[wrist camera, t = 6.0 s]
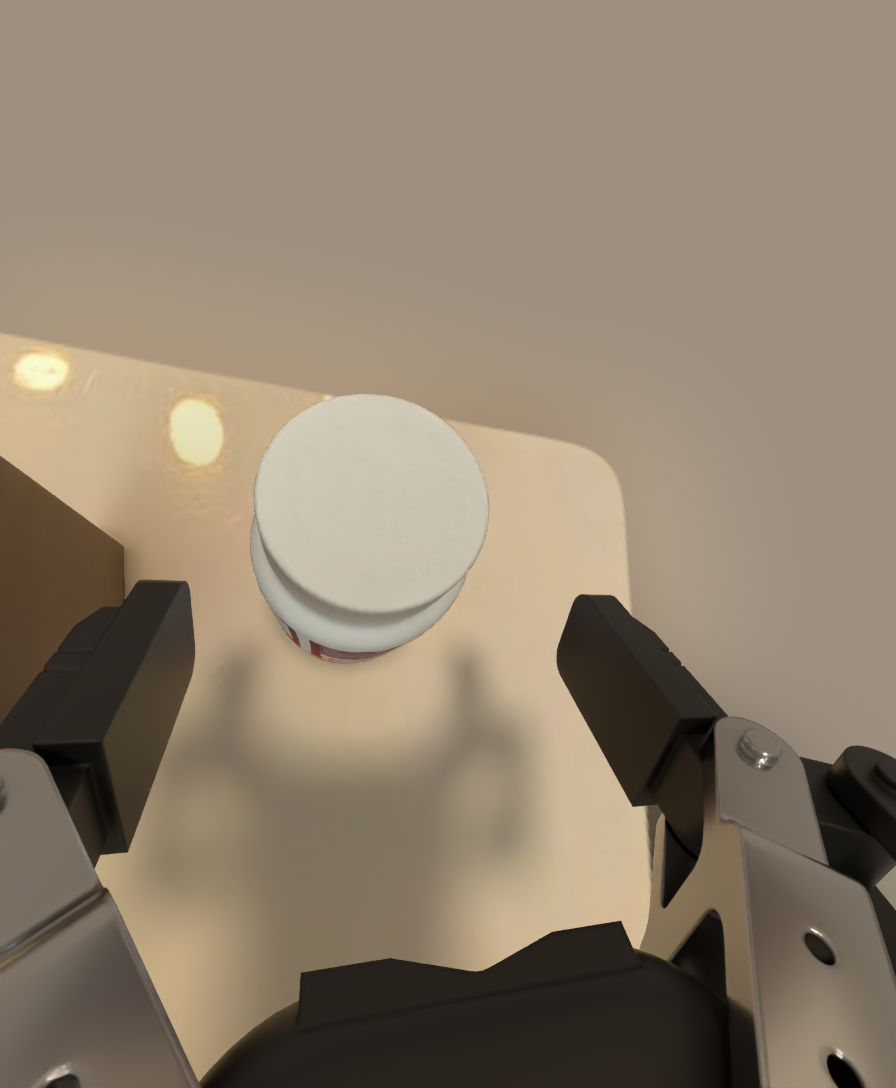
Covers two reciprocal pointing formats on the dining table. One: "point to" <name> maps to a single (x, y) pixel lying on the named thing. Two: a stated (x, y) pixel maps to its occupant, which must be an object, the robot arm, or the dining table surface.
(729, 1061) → the robot arm
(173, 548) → the dining table surface
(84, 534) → the brown t-shaped panel
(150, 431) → the dining table surface
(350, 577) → the pill bottle
